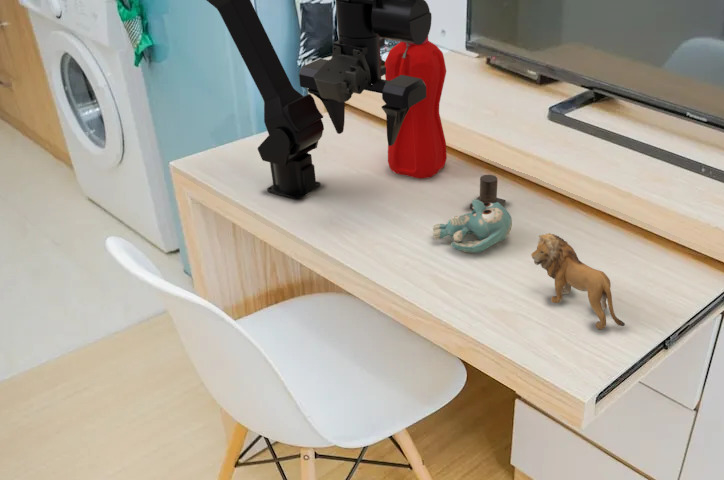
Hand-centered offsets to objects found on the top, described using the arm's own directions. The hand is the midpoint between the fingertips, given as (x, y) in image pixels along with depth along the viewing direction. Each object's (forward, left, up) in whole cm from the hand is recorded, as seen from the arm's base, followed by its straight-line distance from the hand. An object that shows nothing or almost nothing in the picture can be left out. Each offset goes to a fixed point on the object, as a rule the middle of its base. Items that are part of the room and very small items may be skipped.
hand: (365, 138), depth 120 cm
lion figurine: (+39, -10, -12) cm, 42 cm away
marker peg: (+16, +11, -12) cm, 23 cm away
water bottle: (-1, +16, -12) cm, 20 cm away
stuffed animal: (+19, -1, -12) cm, 22 cm away
